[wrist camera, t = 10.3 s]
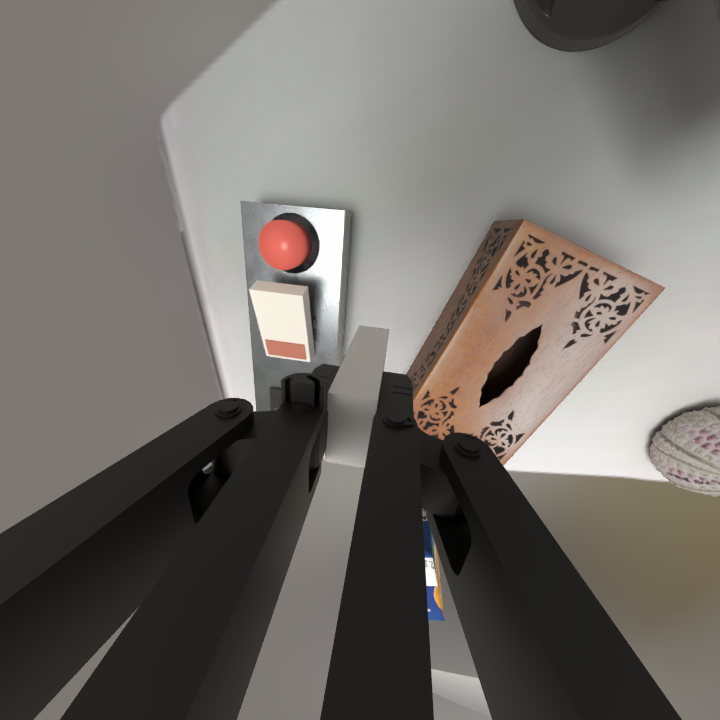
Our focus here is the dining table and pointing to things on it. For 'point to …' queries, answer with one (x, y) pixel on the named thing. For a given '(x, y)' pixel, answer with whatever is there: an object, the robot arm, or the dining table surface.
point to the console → (318, 273)
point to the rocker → (284, 319)
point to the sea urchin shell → (690, 451)
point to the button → (284, 244)
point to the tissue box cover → (521, 335)
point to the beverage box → (432, 574)
